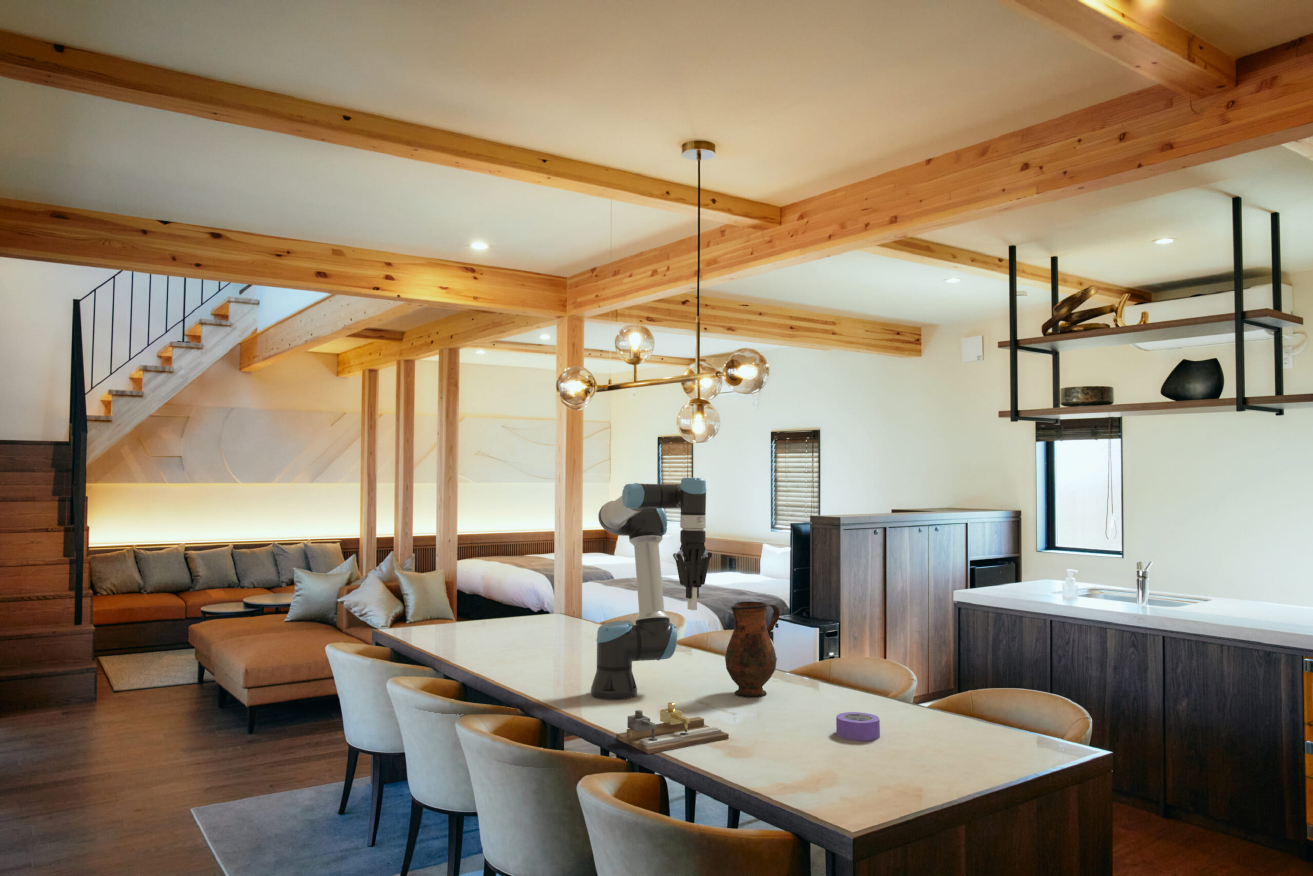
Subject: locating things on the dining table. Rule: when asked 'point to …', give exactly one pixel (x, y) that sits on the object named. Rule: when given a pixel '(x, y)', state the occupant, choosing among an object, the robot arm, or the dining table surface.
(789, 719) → the dining table surface
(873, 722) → the tape roll
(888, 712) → the dining table surface
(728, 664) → the pitcher
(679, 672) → the dining table surface
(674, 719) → the sliding head
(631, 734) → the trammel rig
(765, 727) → the dining table surface
